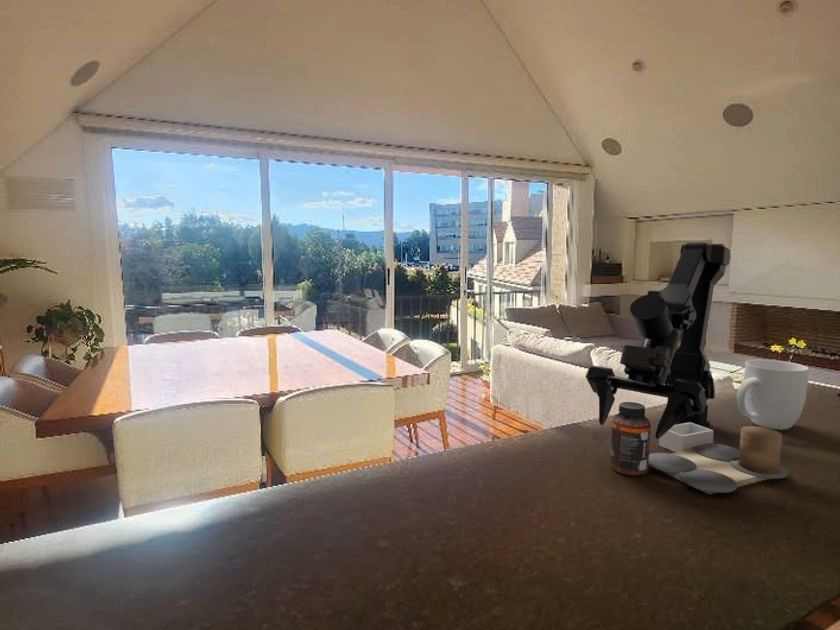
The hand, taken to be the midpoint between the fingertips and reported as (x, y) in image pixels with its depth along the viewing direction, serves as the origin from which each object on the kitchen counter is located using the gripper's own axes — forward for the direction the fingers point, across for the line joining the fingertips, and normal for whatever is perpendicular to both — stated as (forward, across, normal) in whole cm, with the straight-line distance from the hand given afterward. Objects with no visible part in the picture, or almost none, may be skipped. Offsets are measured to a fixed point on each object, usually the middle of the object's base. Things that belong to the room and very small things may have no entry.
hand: (627, 430), depth 83 cm
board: (-3, +10, +13) cm, 17 cm away
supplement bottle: (+4, 0, +6) cm, 8 cm away
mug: (-26, +13, +36) cm, 46 cm away
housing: (-8, +4, +18) cm, 20 cm away
